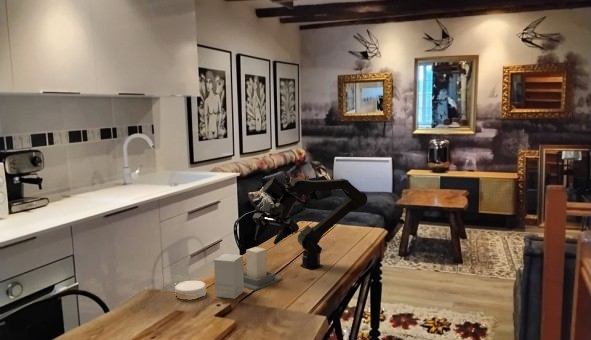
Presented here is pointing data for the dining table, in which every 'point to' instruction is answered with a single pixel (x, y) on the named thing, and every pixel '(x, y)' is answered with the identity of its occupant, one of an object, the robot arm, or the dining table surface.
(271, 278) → the tray
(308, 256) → the robot arm
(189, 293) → the white round disc
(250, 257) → the cream block
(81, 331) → the dining table surface
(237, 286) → the supplement box
